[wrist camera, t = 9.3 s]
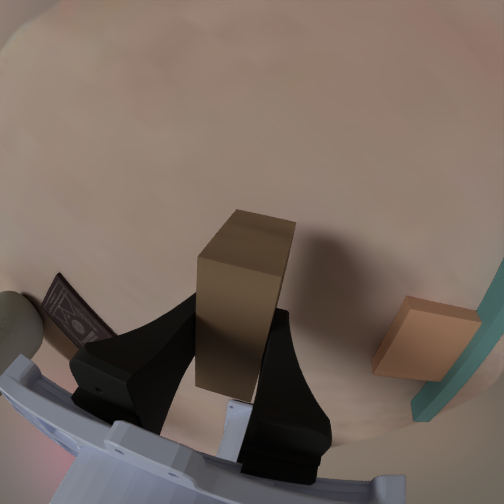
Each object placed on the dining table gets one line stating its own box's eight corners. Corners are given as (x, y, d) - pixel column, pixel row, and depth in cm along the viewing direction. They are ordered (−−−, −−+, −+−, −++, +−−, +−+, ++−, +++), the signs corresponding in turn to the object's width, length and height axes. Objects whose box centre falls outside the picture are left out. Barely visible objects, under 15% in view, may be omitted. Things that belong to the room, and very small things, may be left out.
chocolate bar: (56, 274, 26) (172, 389, 30) (62, 270, 27) (175, 383, 31) (40, 306, 30) (137, 400, 34) (44, 302, 31) (140, 395, 35)
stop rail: (425, 402, 24) (428, 421, 21) (410, 401, 24) (413, 421, 22) (532, 230, 14) (550, 245, 12) (518, 223, 14) (535, 238, 12)
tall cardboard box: (269, 338, 18) (250, 402, 14) (223, 326, 19) (195, 386, 14) (296, 222, 14) (281, 277, 10) (236, 209, 15) (197, 256, 10)
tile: (435, 365, 22) (439, 381, 20) (371, 357, 23) (372, 374, 21) (473, 307, 18) (482, 322, 17) (404, 292, 19) (410, 309, 17)
